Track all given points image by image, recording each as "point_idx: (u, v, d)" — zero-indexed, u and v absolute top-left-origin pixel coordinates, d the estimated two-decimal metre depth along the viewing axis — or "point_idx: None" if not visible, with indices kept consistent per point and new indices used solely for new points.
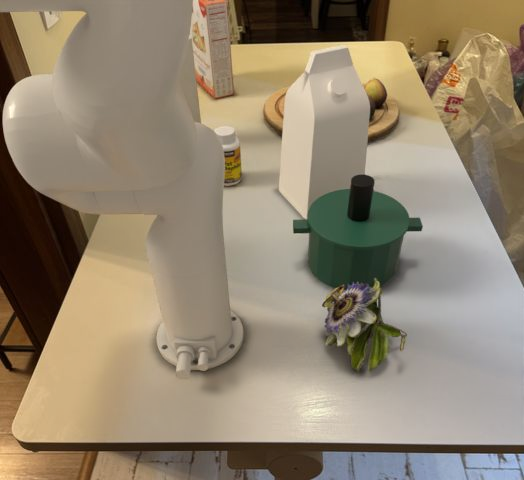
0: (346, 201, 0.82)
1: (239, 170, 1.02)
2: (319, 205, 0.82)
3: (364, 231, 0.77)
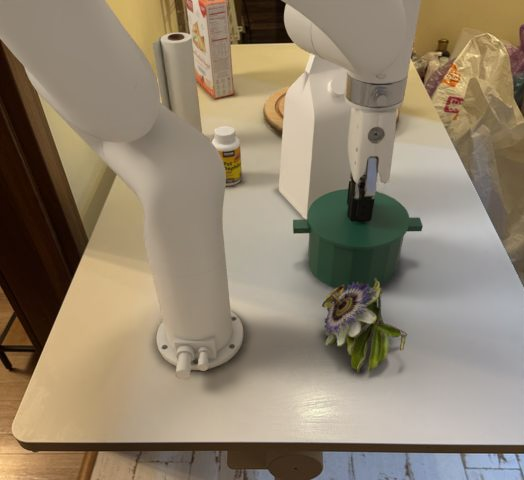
0: (346, 201, 0.82)
1: (239, 170, 1.02)
2: (319, 205, 0.82)
3: (364, 231, 0.77)
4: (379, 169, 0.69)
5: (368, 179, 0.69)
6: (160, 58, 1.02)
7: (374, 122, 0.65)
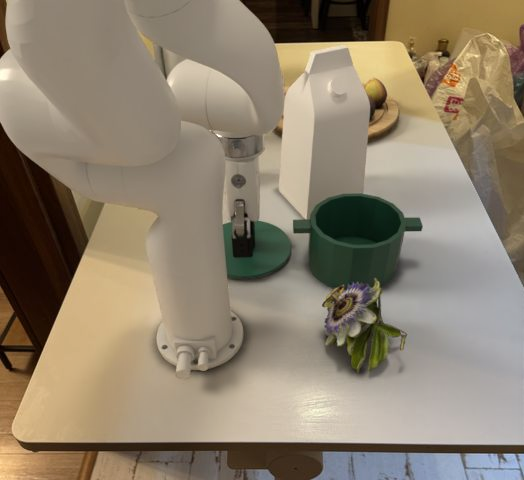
0: None
1: None
2: None
3: (247, 261, 0.86)
4: (246, 210, 0.77)
5: (236, 213, 0.75)
6: (160, 58, 1.02)
7: (235, 170, 0.73)
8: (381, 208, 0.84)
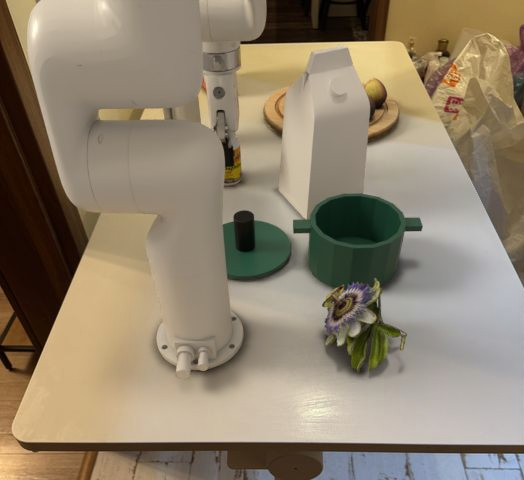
0: None
1: (239, 170, 1.02)
2: None
3: (247, 261, 0.86)
4: (226, 120, 0.91)
5: (218, 126, 0.91)
6: None
7: (216, 83, 0.87)
8: (381, 208, 0.84)
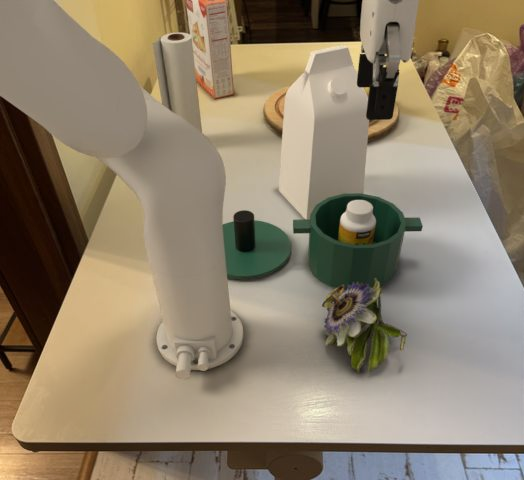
0: None
1: None
2: None
3: (247, 261, 0.86)
4: (399, 40, 0.57)
5: (389, 41, 0.56)
6: (160, 58, 1.02)
7: None
8: (381, 208, 0.84)
